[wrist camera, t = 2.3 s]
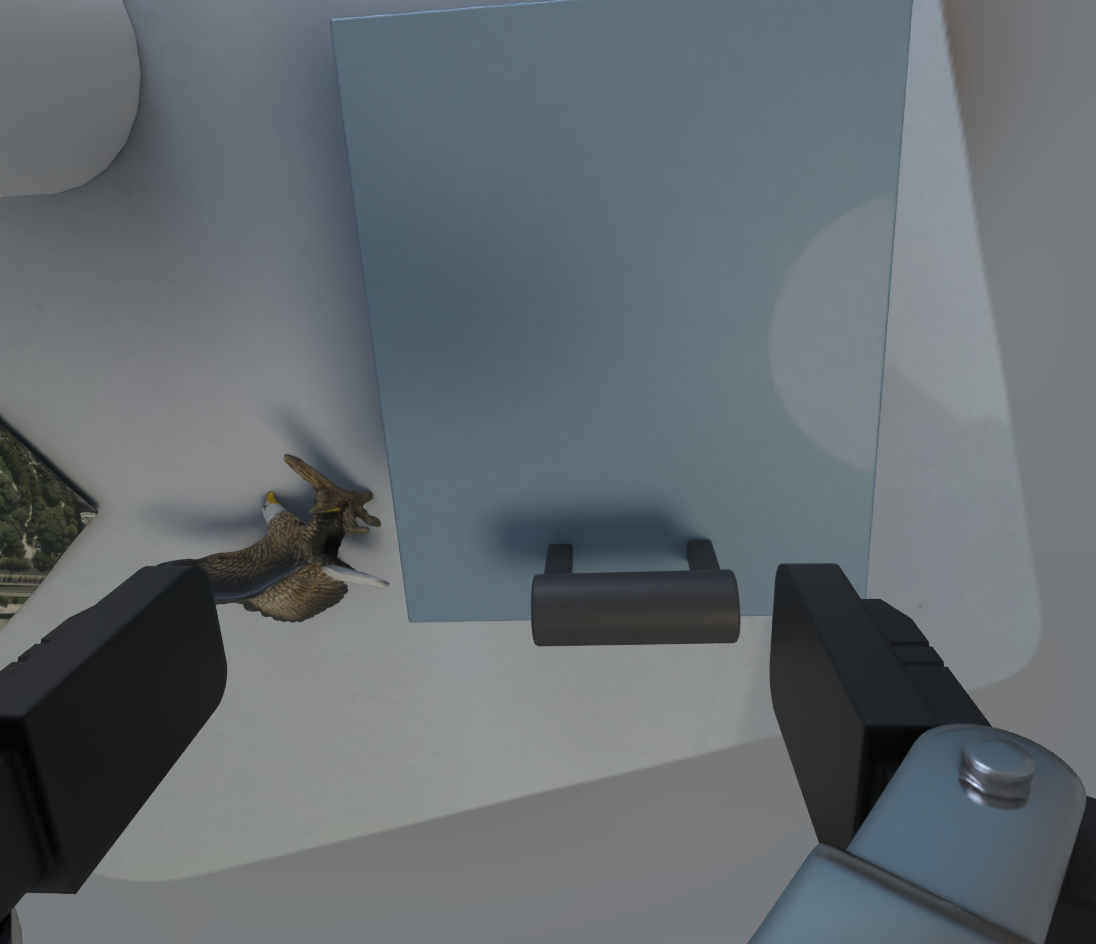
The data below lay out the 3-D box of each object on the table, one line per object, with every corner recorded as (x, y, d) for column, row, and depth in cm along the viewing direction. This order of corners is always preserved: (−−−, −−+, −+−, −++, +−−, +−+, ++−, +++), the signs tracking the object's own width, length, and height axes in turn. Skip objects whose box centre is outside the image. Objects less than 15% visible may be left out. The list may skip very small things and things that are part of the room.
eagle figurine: (269, 397, 32) (113, 540, 33) (305, 502, 27) (119, 669, 28) (391, 488, 37) (254, 609, 38) (440, 590, 32) (281, 727, 33)
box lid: (857, 601, 24) (920, 701, 19) (414, 610, 25) (370, 706, 20) (903, -22, 19) (1006, -98, 14) (338, 24, 20) (254, -31, 15)
